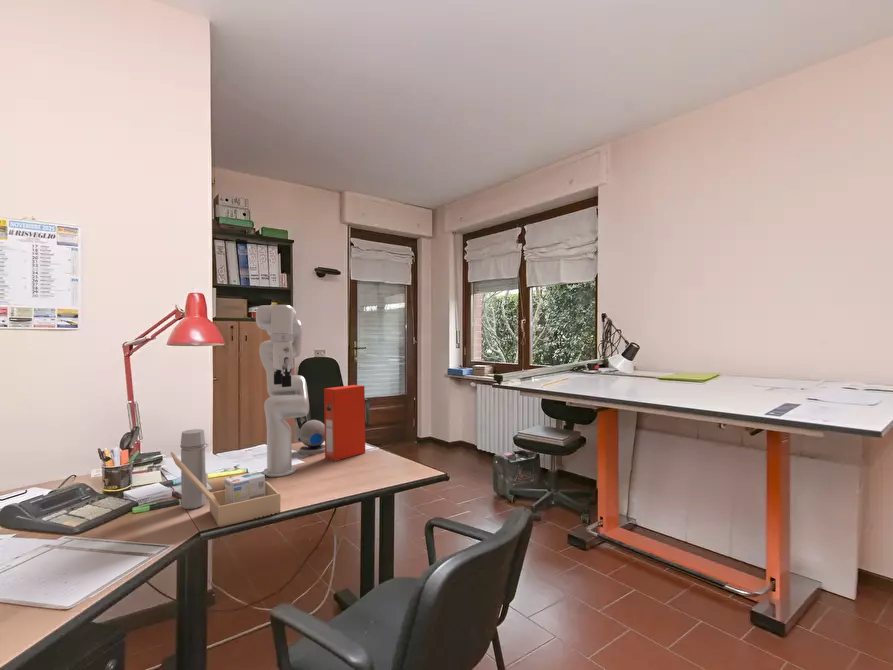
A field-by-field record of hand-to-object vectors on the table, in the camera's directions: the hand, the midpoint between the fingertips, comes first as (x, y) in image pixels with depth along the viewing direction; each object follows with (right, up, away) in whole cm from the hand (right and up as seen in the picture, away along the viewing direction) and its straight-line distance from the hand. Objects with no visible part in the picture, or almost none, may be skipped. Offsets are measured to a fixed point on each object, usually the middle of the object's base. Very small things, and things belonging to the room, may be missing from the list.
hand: (282, 385), depth 165 cm
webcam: (-5, -38, +54) cm, 66 cm away
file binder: (+13, -38, +46) cm, 61 cm away
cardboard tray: (-5, -39, -20) cm, 43 cm away
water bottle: (-24, -39, -15) cm, 48 cm away
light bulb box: (-5, -38, -20) cm, 43 cm away
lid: (-16, -25, -28) cm, 41 cm away
